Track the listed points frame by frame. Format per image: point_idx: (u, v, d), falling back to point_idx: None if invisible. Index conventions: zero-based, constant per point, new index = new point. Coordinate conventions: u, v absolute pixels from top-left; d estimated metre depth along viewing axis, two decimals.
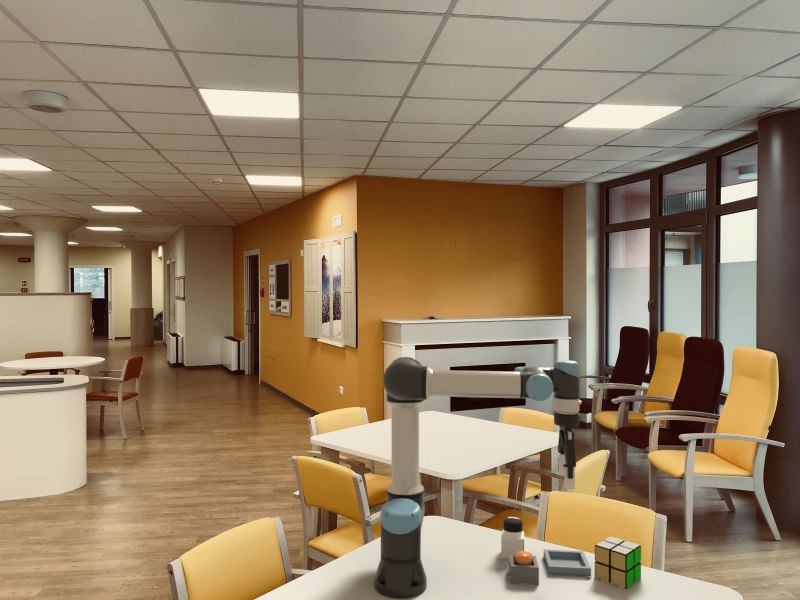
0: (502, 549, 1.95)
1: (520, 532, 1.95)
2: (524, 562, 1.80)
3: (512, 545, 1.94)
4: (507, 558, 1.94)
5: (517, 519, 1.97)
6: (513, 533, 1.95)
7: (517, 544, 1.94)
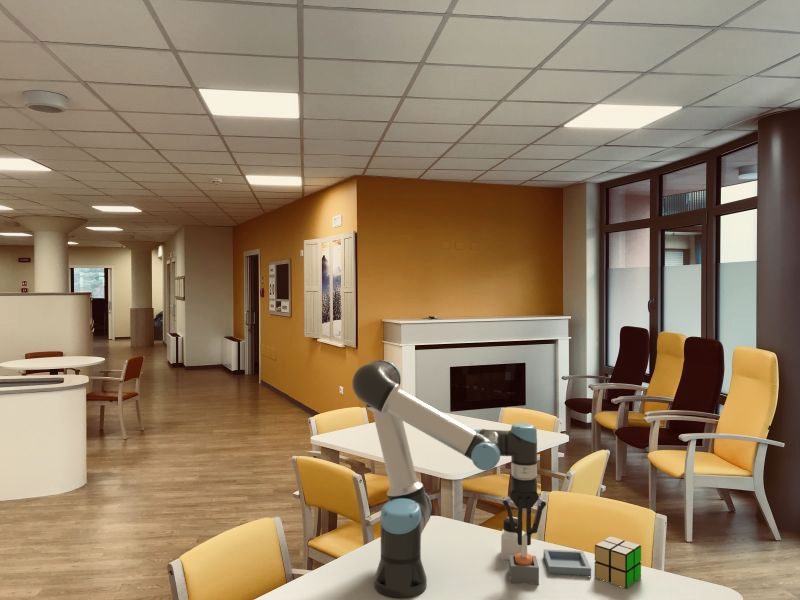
0: (502, 549, 1.95)
1: None
2: (524, 564, 1.80)
3: (512, 545, 1.94)
4: (507, 558, 1.94)
5: None
6: (513, 533, 1.95)
7: (517, 544, 1.94)
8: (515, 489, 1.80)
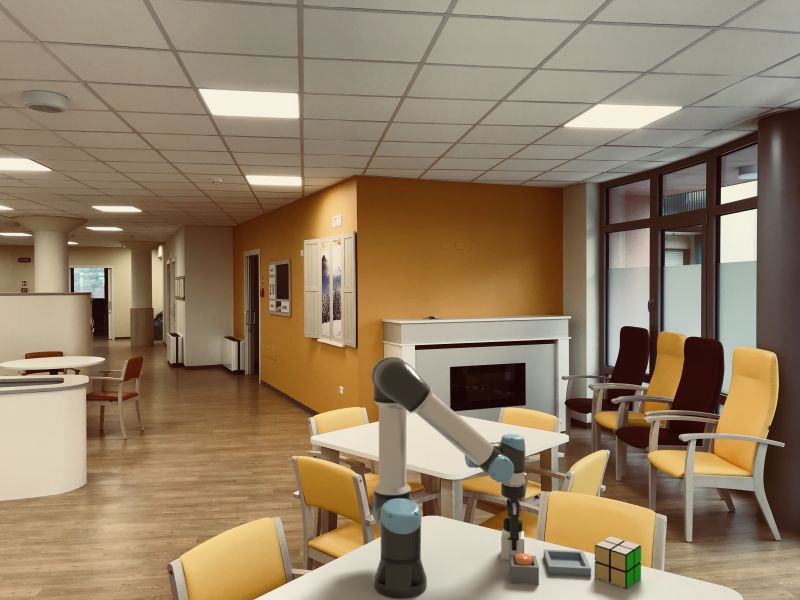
0: (502, 549, 1.95)
1: (520, 532, 1.95)
2: None
3: None
4: (507, 558, 1.94)
5: None
6: None
7: None
8: (521, 496, 1.94)
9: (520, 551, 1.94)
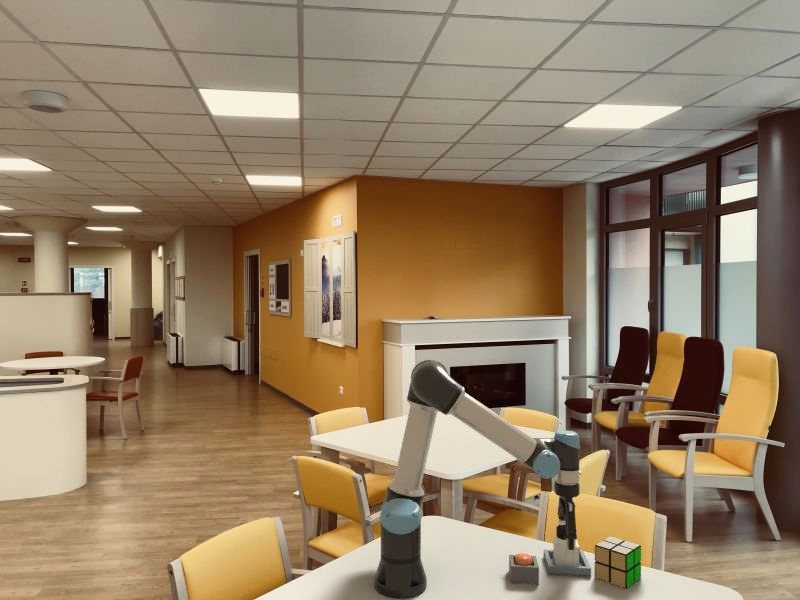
0: (556, 558, 1.87)
1: (575, 540, 1.88)
2: None
3: None
4: None
5: None
6: None
7: None
8: (576, 494, 1.87)
9: (575, 559, 1.86)
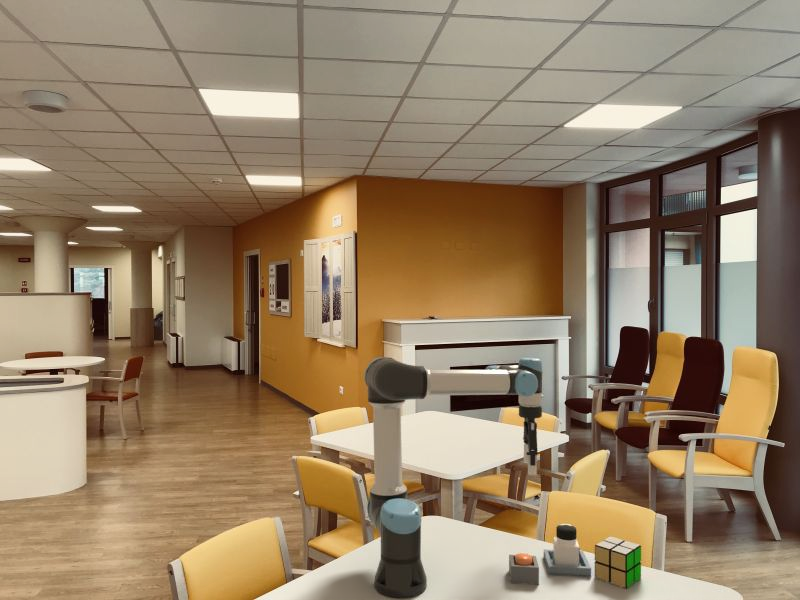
0: (556, 558, 1.87)
1: (575, 540, 1.88)
2: None
3: (567, 554, 1.87)
4: None
5: (571, 526, 1.90)
6: (568, 541, 1.87)
7: (573, 552, 1.86)
8: (539, 416, 1.99)
9: (575, 559, 1.86)
